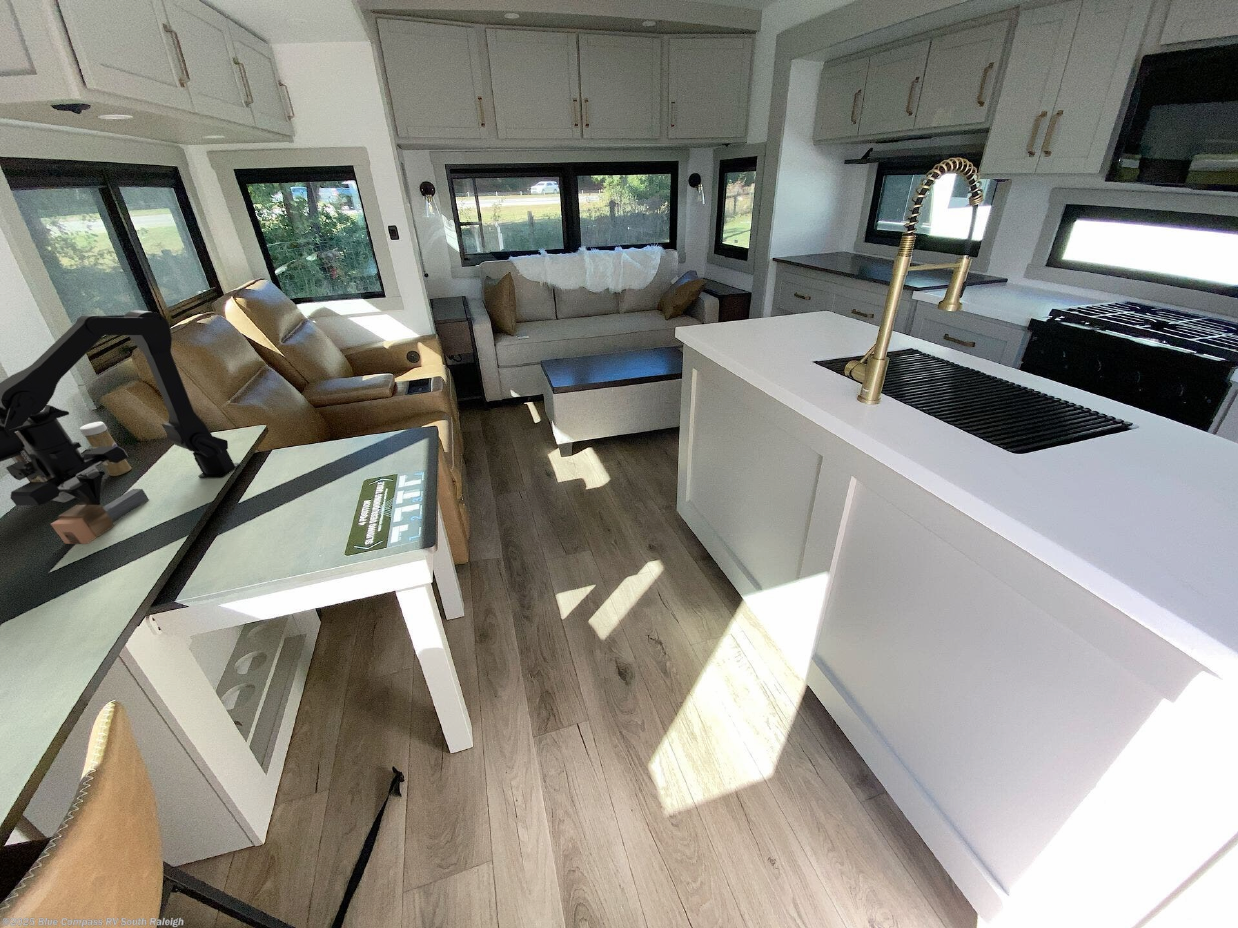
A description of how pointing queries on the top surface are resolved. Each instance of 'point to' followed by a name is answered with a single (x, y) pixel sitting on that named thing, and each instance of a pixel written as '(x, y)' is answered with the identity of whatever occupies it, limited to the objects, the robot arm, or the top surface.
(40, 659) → the top surface
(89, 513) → the block
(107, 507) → the rail
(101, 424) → the sprinkles bottle
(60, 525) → the pink notched end block
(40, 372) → the robot arm
